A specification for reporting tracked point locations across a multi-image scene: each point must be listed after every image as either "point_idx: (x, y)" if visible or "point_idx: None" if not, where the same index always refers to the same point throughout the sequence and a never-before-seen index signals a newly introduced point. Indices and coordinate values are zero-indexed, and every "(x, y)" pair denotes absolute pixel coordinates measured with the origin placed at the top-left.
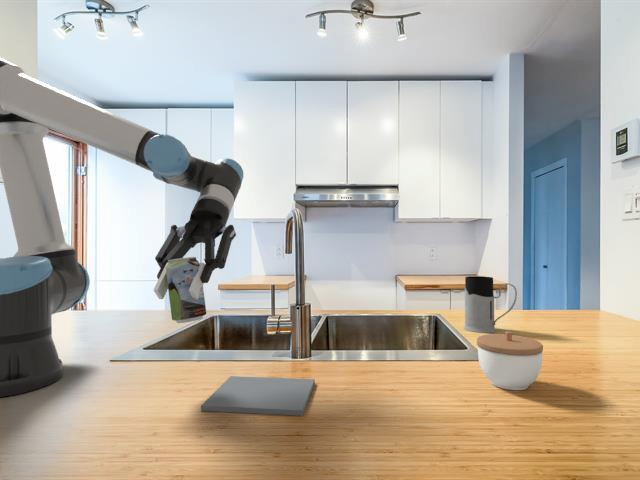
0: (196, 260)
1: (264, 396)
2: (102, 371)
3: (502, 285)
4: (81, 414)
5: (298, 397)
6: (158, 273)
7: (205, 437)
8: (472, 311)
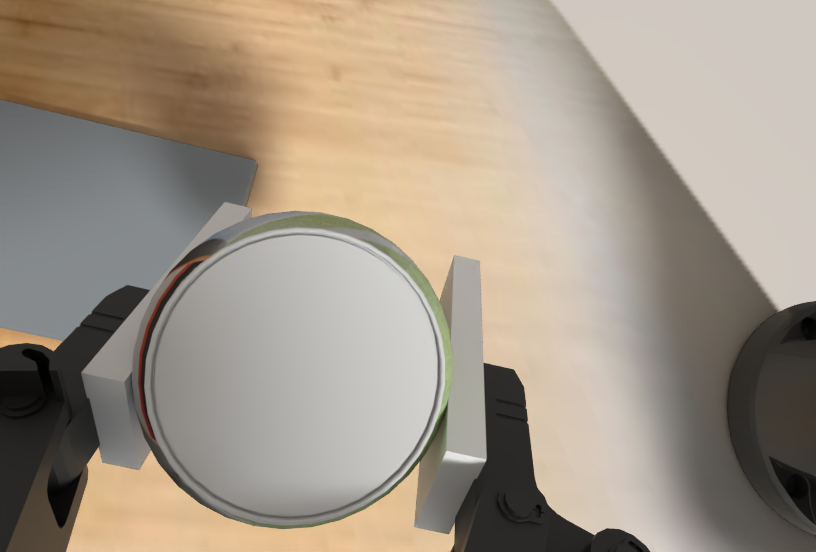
0: (146, 345)
1: (86, 193)
2: (642, 504)
3: None
4: (535, 185)
5: None
6: (521, 399)
7: (226, 42)
8: None
